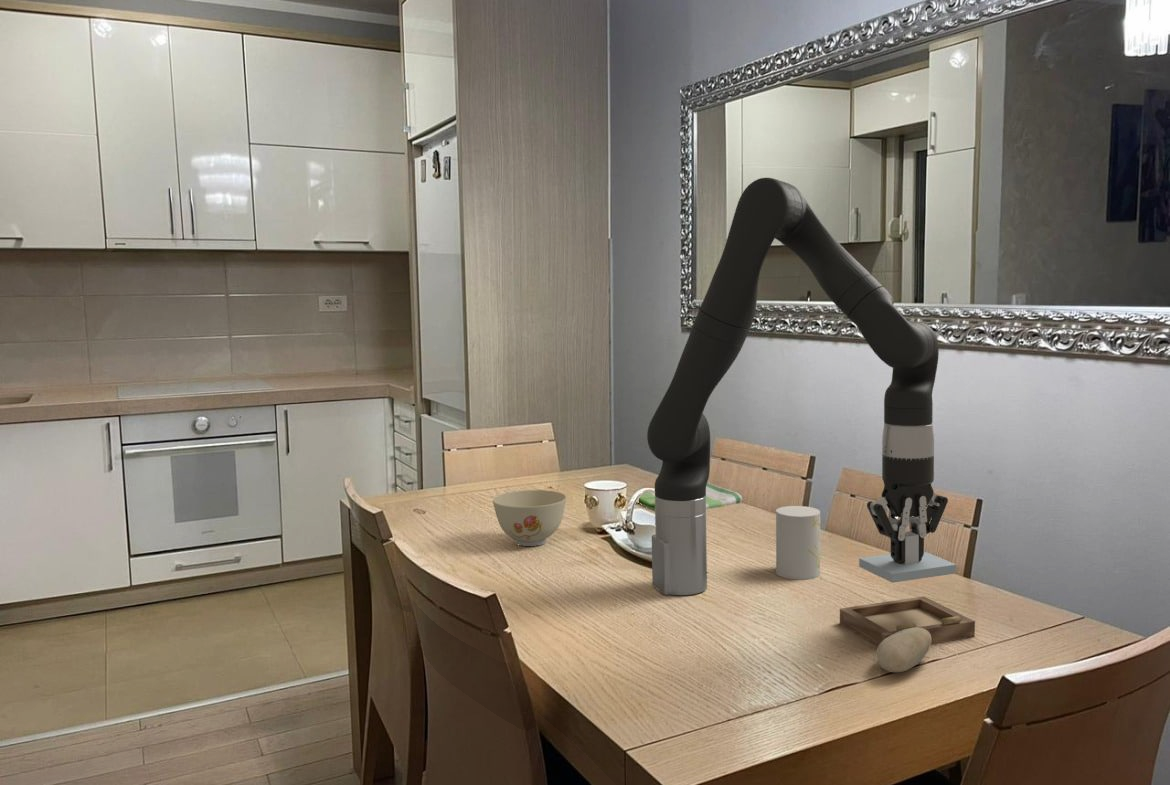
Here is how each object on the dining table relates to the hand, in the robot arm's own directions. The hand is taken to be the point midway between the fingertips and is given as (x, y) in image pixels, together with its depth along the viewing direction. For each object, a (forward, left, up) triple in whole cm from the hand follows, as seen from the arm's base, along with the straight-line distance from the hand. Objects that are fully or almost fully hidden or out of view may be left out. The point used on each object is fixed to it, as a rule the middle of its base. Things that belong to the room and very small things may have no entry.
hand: (907, 560), depth 139 cm
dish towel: (+2, +91, -12) cm, 92 cm away
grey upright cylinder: (-1, +31, -11) cm, 33 cm away
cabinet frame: (0, 0, -11) cm, 11 cm away
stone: (-9, -11, -11) cm, 18 cm away
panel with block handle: (0, 0, -1) cm, 1 cm away
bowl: (-44, +70, -11) cm, 84 cm away
